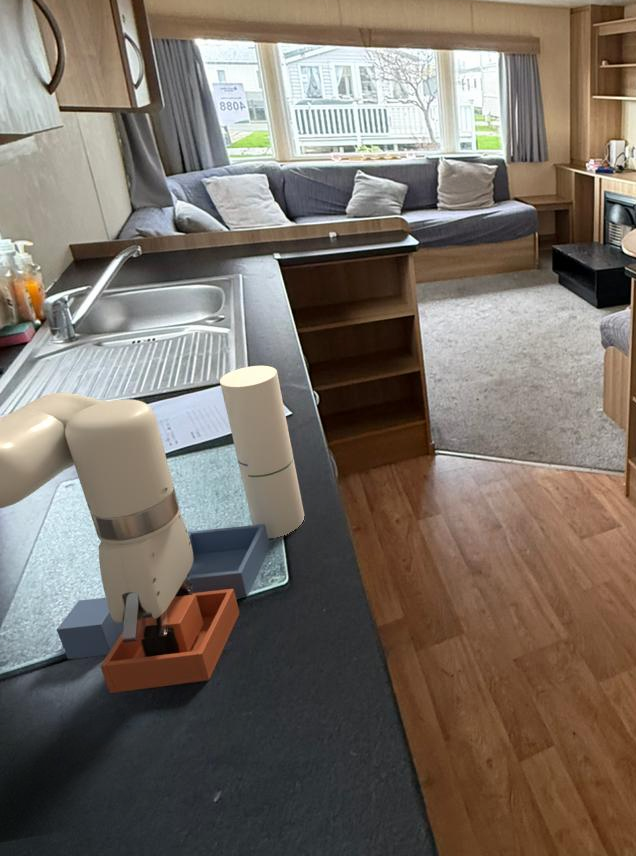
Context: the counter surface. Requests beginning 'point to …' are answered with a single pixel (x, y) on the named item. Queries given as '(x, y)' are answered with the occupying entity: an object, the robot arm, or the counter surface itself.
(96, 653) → the slate block
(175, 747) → the counter surface
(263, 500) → the cylindrical container
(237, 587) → the slate bin
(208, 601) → the terracotta bin
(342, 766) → the counter surface
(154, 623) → the terracotta block
